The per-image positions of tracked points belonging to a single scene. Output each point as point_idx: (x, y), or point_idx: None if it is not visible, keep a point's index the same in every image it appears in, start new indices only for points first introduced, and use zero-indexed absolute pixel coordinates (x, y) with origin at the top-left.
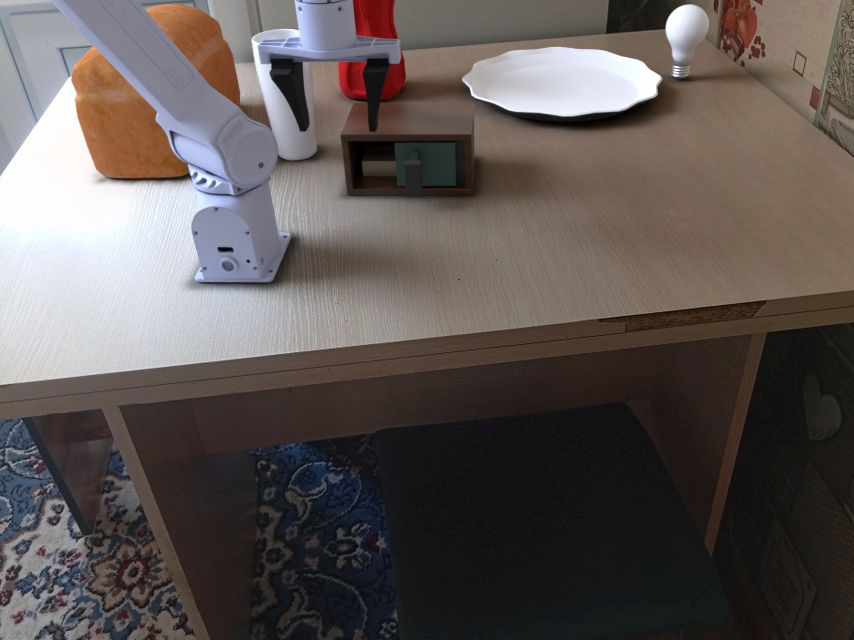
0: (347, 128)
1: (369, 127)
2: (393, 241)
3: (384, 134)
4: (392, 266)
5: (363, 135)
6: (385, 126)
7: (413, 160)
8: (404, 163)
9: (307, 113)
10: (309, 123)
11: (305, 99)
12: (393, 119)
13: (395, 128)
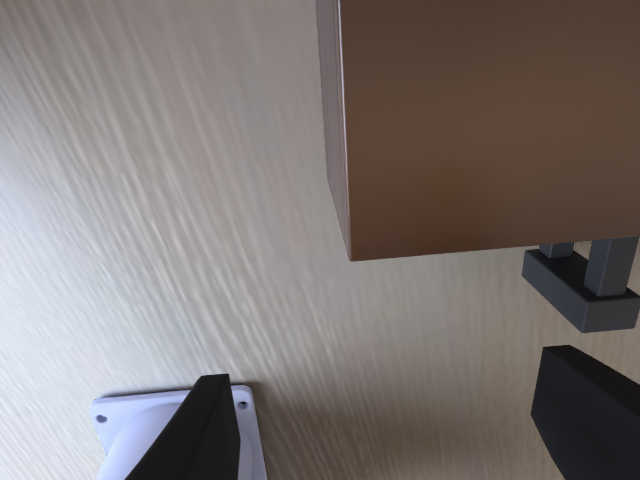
0: (371, 192)
1: (545, 440)
2: (470, 372)
3: (553, 241)
4: (471, 442)
5: (456, 251)
6: (563, 150)
7: (617, 305)
8: (584, 329)
9: (218, 428)
10: (227, 376)
11: (189, 474)
12: (613, 46)
13: (611, 170)
